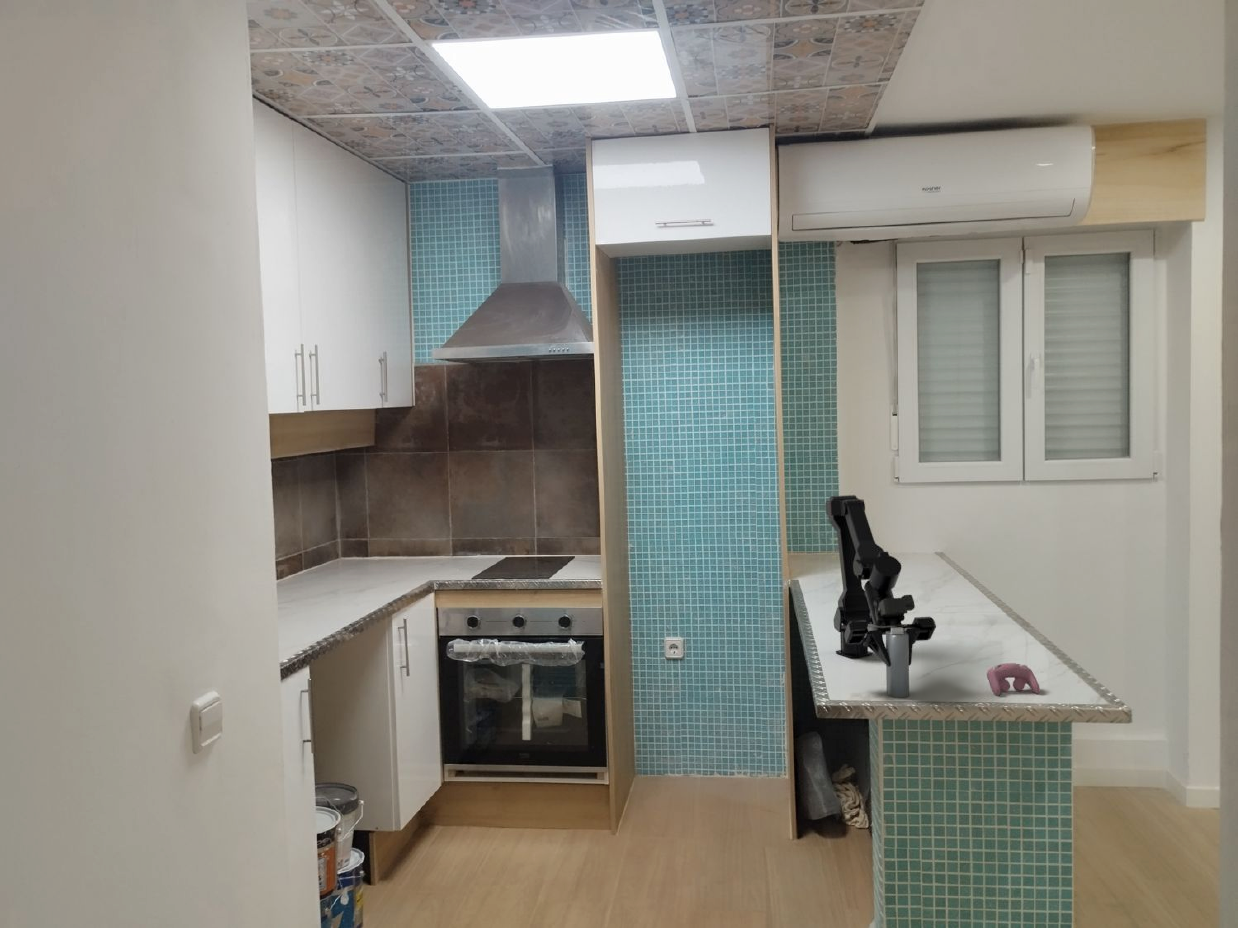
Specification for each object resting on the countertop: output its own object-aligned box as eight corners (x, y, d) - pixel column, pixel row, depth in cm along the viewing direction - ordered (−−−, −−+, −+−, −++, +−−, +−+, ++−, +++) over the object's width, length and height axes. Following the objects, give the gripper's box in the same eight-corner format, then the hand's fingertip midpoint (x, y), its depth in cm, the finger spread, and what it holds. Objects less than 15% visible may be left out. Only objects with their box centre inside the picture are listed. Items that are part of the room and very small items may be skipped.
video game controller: (1034, 696, 214) (1027, 663, 217) (1042, 692, 210) (1035, 659, 213) (988, 699, 214) (981, 666, 217) (996, 695, 210) (989, 661, 213)
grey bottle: (884, 689, 218) (883, 625, 217) (902, 689, 218) (901, 624, 217) (893, 698, 212) (892, 631, 211) (911, 697, 212) (911, 630, 211)
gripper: (846, 584, 217) (863, 647, 206) (932, 579, 218) (952, 642, 208) (837, 612, 225) (853, 674, 215) (919, 608, 226) (939, 669, 216)
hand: (899, 665), depth 213 cm, fingers closed on grey bottle, 4 cm apart
